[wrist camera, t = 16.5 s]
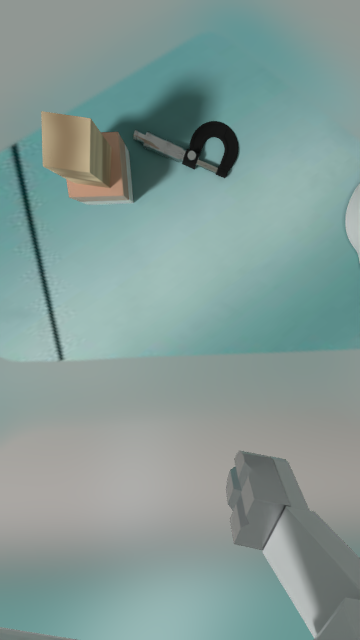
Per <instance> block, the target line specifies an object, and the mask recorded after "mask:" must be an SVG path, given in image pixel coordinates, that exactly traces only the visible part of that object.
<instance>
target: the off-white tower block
mask: <svg viewBox="0 0 360 640" xmlns="http://www.w3.org/2000/svg"><path fill="white" fill-rule="evenodd" d="M125 153H126V166H127V178H128V191H129V200H119V201H88V202H83V203H85V204H88V205H100V204H123V203H134V202H133V191H132V179H131V168H130V156H129V151H128V149H127V147H126V145H125Z"/></svg>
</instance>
